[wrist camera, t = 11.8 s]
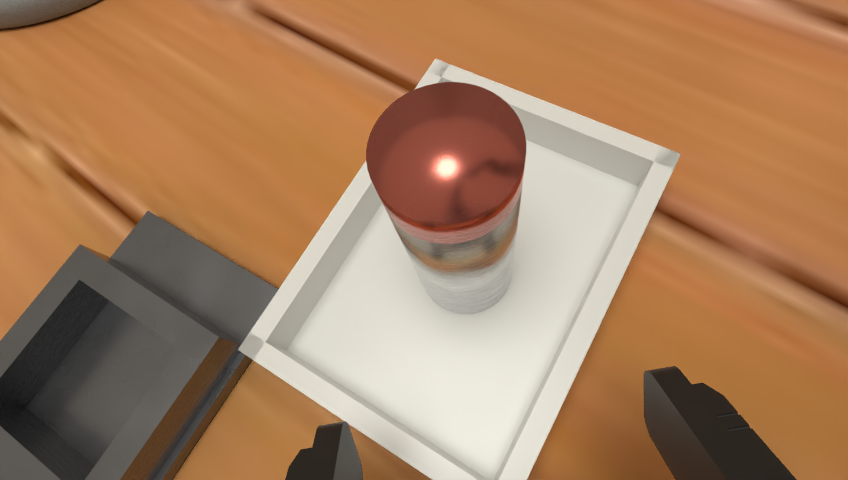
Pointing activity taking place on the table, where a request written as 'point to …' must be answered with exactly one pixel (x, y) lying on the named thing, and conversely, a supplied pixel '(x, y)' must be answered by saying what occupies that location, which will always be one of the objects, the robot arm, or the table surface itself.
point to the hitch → (125, 359)
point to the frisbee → (36, 10)
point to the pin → (452, 188)
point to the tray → (467, 333)
